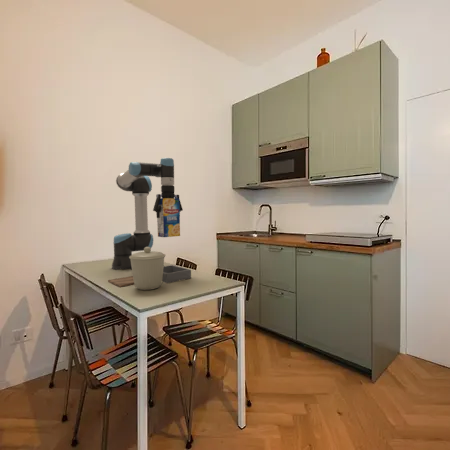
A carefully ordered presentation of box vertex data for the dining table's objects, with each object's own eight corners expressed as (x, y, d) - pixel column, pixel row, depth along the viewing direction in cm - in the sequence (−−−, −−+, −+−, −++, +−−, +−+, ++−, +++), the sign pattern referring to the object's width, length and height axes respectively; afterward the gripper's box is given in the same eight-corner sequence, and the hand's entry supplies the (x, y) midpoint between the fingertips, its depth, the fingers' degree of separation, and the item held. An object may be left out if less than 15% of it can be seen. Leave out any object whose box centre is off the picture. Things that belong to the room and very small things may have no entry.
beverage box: (157, 236, 168) (156, 198, 167) (173, 235, 176) (173, 198, 175) (163, 237, 163) (162, 198, 162) (180, 235, 171) (179, 198, 170)
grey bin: (149, 277, 173) (149, 268, 173) (172, 272, 184) (172, 265, 183) (166, 283, 158) (166, 274, 158) (191, 278, 169) (190, 269, 169)
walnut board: (108, 281, 163) (108, 280, 163) (132, 277, 172) (132, 276, 172) (119, 287, 151) (119, 285, 151) (144, 282, 160) (144, 280, 160)
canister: (143, 294, 137) (142, 250, 136) (123, 288, 149) (121, 247, 148) (173, 286, 151) (172, 246, 150) (152, 281, 162) (151, 243, 161)
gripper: (152, 183, 157) (153, 224, 159) (188, 185, 173) (189, 222, 174) (146, 184, 163) (147, 224, 164) (181, 186, 179) (181, 222, 180)
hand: (168, 223), depth 169 cm, fingers closed on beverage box, 11 cm apart
